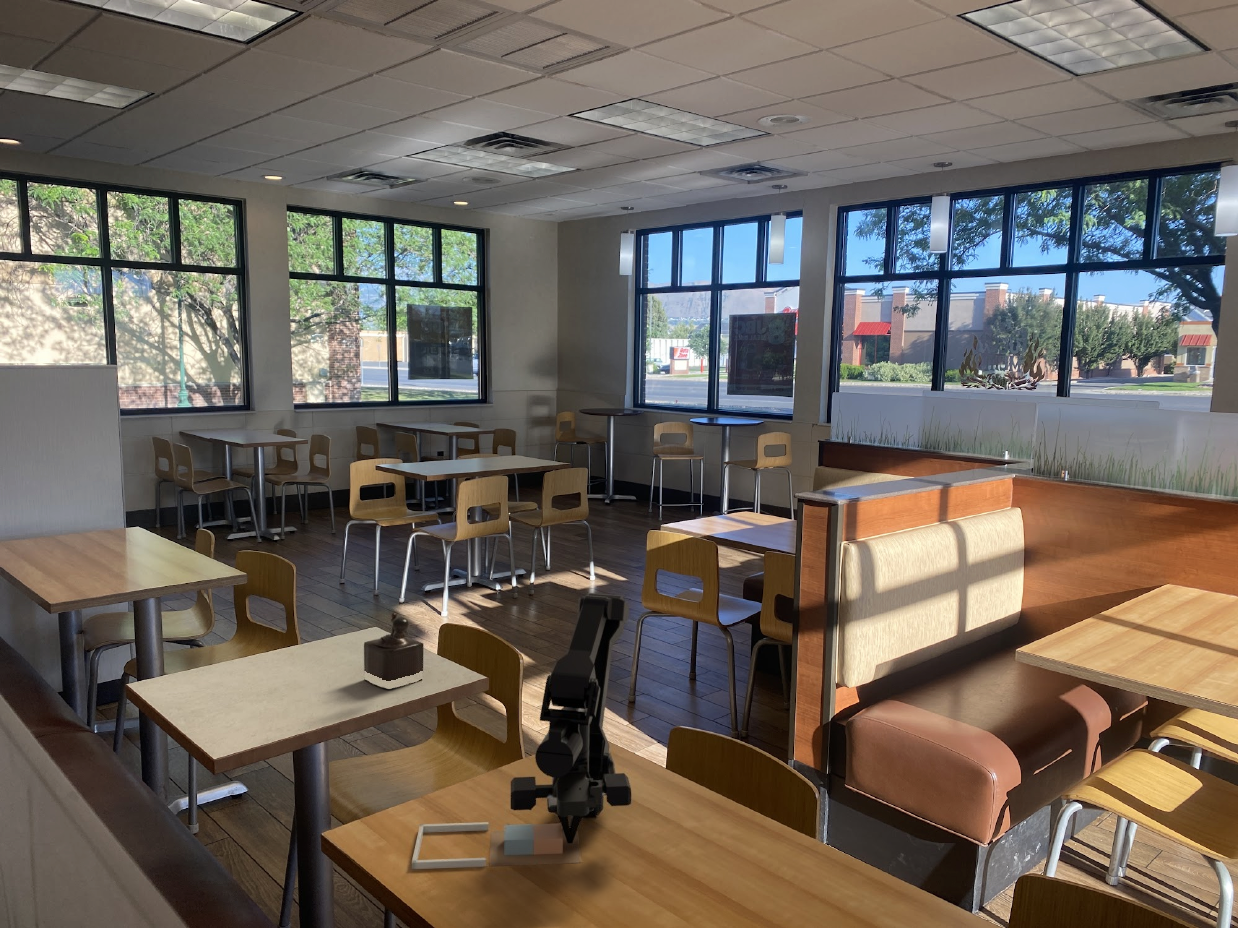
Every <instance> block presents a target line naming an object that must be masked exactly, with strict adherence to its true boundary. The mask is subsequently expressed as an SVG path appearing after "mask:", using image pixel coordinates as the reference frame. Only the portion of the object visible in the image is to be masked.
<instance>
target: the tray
mask: <svg viewBox="0 0 1238 928" xmlns="http://www.w3.org/2000/svg"><path fill="white" fill-rule="evenodd" d="M470 831H473V832H475V831H490V823H489V821H486V822H481V821H480V822H461V823H459V822H457V823H454V822H452V823H428V824H427V823H425V824H424V823H423V824H422V823H421V824H419V828H418V833H417V837H416V841H415V847H414V851H413V856H412V859H411V870H421V869H422V870H424V869H449V868H452V869H454V868H456V869H457V868H480V867H482V868H483V867H486V865H487V857H473V858H472V857H469V858H467V857H466V858H465V857H463V858H444V859H442V858H440V859H438V858H437V859H419V856H420V850H421V846H422V841H423V836H424V833H440V832H441V833H444V832H446V833H449V832H470Z"/></svg>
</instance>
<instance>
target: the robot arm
mask: <svg viewBox="0 0 1238 928" xmlns="http://www.w3.org/2000/svg"><path fill="white" fill-rule="evenodd" d="M629 603H630V602H629V601H626V600H624V596H623V595H622V594H621V595H620V594H610V593H594V592H590V593H589V594H588V595H587V594H586V595H585V596H580V597H579V598H578V607H577V621H576V624H575V628H574V631H573V634H572V638H571V640H570V643H569V646H568V649H567V653H566V654H565V655H563V656H562V657H561V658H560V659H558V660H556V662H555V664H554V665H553V668H552V670H551V673H550V674H548V675H547V678H546V680H545V681H546V682H545V686H544V691H543V692H544V693H543V698H542V704H541V709H540V710H541V711H540V715H539V721H541V722H549V725H548V726H549V728H548V731H547V732H546V734H545V736H544V738H543V739H542V740H541V742H540V744H539V745H538V747H537V748H536V752H535V756H534V757H535V759H534V760H535V763H536V765H537V767H538V769H539V770H540V772H542V773H543V774H544V775H545V776H548V777H551V783H550V784H537V783H536V776H520V777H519V776H516V777H515V776H514V777H513V778H512V779H511V780H510V809H511V810H513V811H528V810H529V811H532V809H533V808H535V806H536V805H537V799H546V805H547V811H548V813H551V814H555V815H556V816H557V818H558V820H559V823H561V826H562V829H563V831H564V834H565V837H566V840H567V843H573V840H574V837H575V835H576V832H577V829H579V826H580V824H581V821H582V820H583V819H595V818H597V816H599V813H601V812H602V811H603V810H604V796H606V802H607V803H608V804H609V806H611V807H624V806H625V807H627V806H630V805H631V804H632V788H631V783H630V780H629V777H628V776H627V774H625V773H624V772H623V773H622V772H619V773H616V768H615V762H614V759H613V757H612V754H611V753H610V743H609V741H608V739H607V736H606V733H605V732H604V728H603V725H604V719H605V712H606V711H605V710H606V702H607V693H608V688H609V677H610V671H611V670H610V669H611V664H612V663H611V661H612V655H613V654H612V653H613V646H614V645H615V643H616V642H617V641H618V639H619V638H620V637H621V636H622V634H623V633H624V628H625V622H628V621H629V613H630V604H629ZM550 704H551V705H552V707H562V708H561V709H559V708H550ZM569 817H570V818H569ZM569 819H570V821H569Z"/></svg>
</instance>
